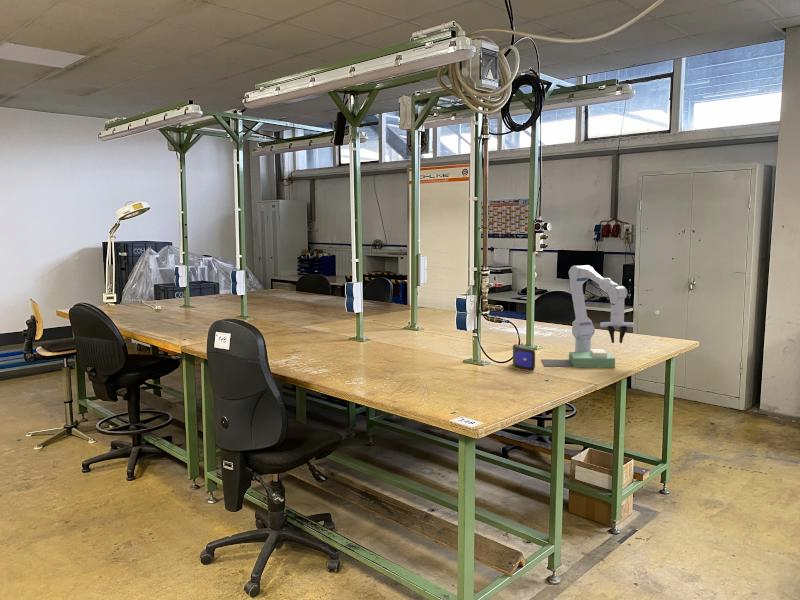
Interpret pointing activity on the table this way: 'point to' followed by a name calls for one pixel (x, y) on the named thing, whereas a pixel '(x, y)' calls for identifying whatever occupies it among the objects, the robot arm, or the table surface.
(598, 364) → the block
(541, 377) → the table surface
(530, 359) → the framed blue square panel
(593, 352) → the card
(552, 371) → the table surface
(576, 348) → the robot arm
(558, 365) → the mat
